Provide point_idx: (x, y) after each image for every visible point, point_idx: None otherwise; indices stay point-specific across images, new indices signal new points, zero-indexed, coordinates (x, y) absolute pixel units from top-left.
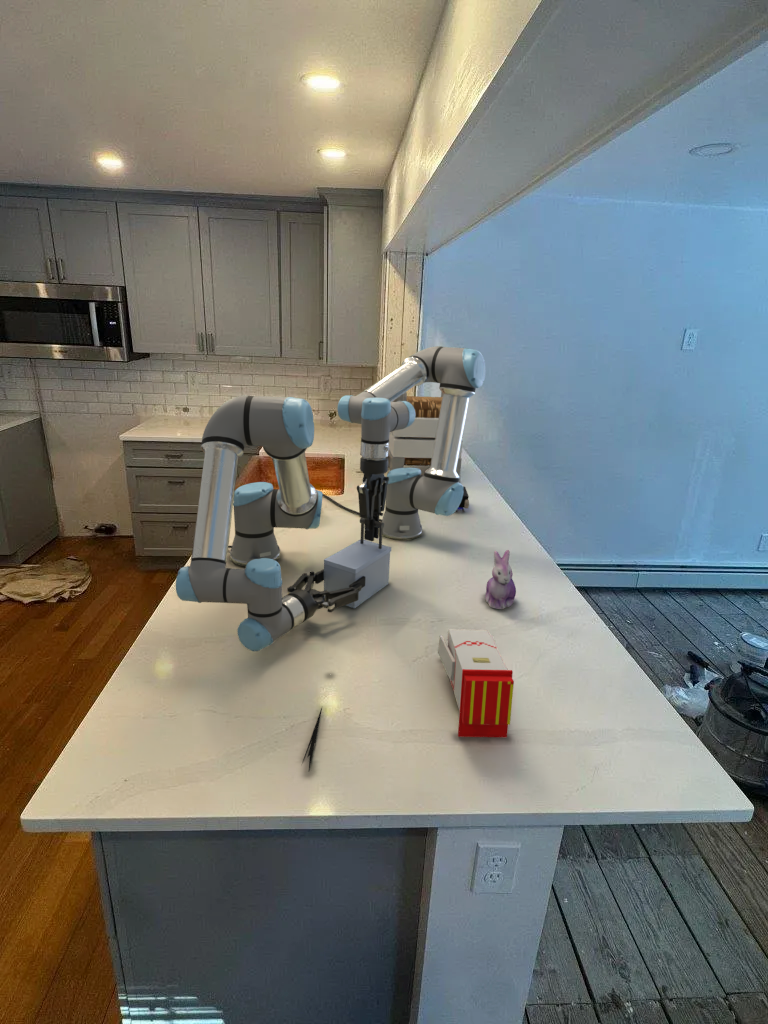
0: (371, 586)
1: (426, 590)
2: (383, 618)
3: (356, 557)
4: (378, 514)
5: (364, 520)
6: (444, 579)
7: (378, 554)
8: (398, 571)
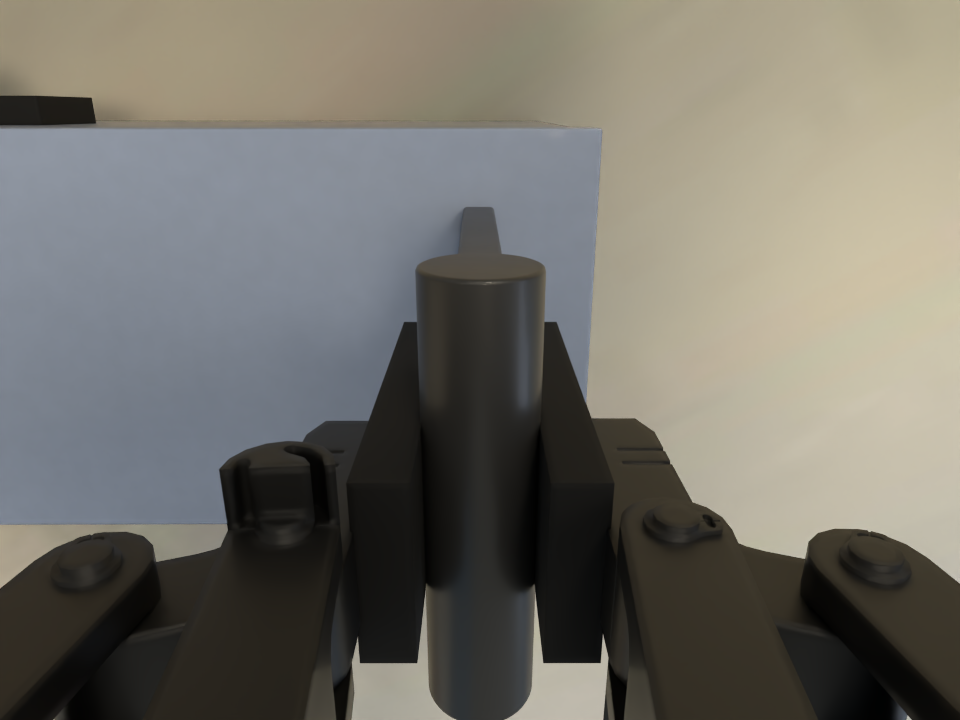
0: None
1: None
2: (160, 544)
3: (119, 389)
4: (607, 677)
5: (429, 384)
6: None
7: None
8: (742, 332)
